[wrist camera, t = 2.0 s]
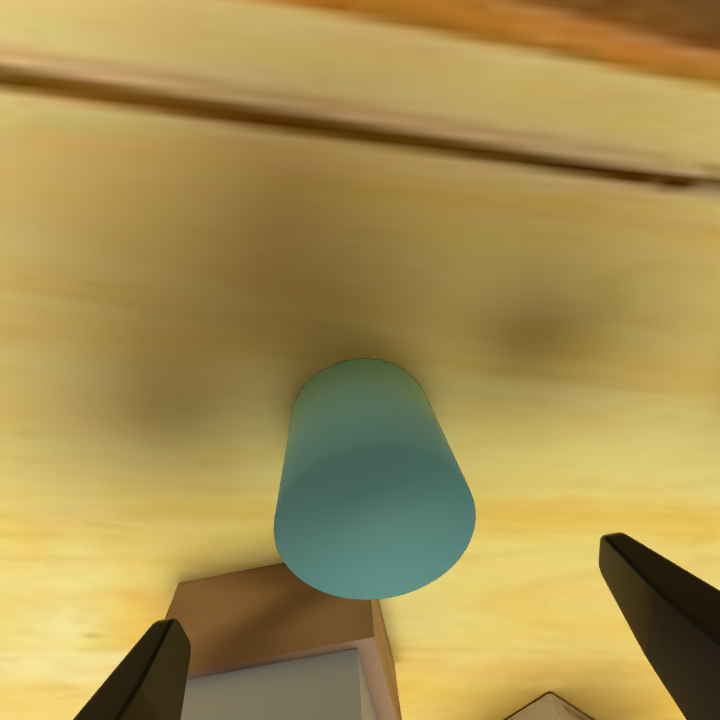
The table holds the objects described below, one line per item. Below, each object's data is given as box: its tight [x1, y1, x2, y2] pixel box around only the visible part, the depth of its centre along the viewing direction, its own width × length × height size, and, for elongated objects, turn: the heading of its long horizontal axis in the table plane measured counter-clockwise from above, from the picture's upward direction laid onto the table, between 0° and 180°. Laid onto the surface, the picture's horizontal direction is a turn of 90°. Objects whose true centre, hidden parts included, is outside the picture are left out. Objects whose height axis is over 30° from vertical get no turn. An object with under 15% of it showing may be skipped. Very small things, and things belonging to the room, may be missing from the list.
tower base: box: [165, 563, 402, 720], centre depth 17 cm, size 8×8×4 cm
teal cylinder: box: [274, 359, 476, 600], centre depth 12 cm, size 5×5×5 cm
